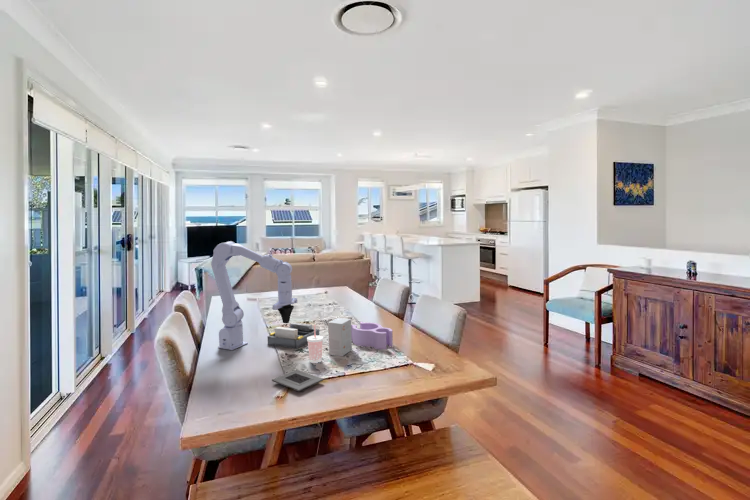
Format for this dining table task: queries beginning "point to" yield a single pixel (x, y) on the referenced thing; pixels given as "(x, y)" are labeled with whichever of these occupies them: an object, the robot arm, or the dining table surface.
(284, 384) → the grey picture frame
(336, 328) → the small box
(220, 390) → the dining table surface
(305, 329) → the rack
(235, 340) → the robot arm
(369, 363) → the dining table surface
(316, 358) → the beverage cup
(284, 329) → the block
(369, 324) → the clip
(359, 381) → the dining table surface
